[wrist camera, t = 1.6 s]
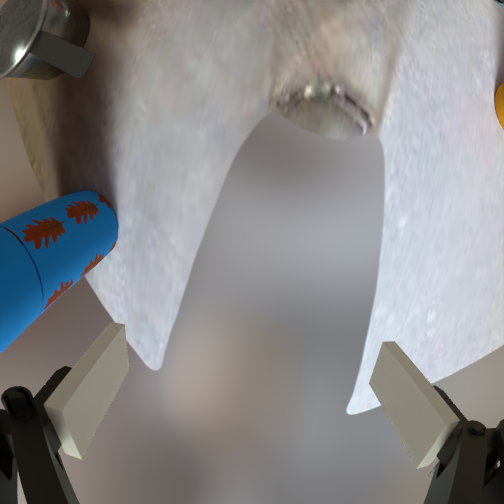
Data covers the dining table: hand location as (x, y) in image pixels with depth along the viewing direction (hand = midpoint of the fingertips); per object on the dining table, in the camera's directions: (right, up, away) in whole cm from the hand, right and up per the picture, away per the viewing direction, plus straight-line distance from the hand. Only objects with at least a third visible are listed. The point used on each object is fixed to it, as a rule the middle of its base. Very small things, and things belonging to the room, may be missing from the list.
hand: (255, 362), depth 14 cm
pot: (-26, +34, +15) cm, 46 cm away
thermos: (-24, +9, +25) cm, 36 cm away
